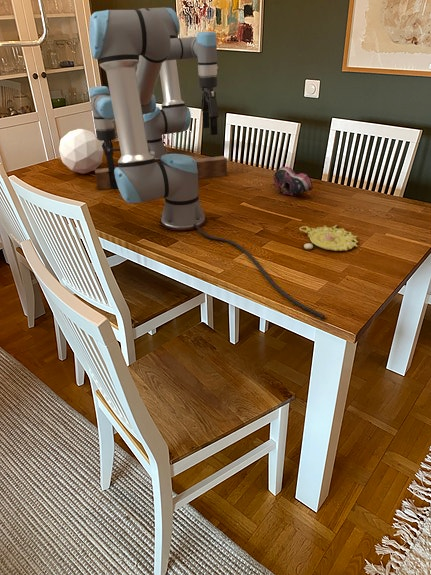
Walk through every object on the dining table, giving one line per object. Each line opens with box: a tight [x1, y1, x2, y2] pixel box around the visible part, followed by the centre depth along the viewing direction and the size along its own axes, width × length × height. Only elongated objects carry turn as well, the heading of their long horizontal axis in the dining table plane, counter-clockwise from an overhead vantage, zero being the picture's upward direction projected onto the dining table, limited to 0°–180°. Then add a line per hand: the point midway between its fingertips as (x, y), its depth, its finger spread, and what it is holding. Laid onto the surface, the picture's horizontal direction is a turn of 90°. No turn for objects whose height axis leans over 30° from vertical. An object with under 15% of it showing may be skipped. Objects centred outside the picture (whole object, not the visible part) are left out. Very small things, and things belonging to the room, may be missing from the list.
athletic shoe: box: [270, 166, 314, 197], centre depth 175 cm, size 11×22×12 cm
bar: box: [94, 155, 228, 191], centre depth 192 cm, size 56×5×7 cm, turn 105°
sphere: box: [58, 128, 104, 175], centre depth 202 cm, size 19×20×20 cm
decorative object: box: [299, 224, 359, 252], centre depth 141 cm, size 21×2×20 cm
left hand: (210, 131), depth 188 cm, fingers open, 13 cm apart
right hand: (113, 184), depth 189 cm, fingers closed on bar, 5 cm apart
